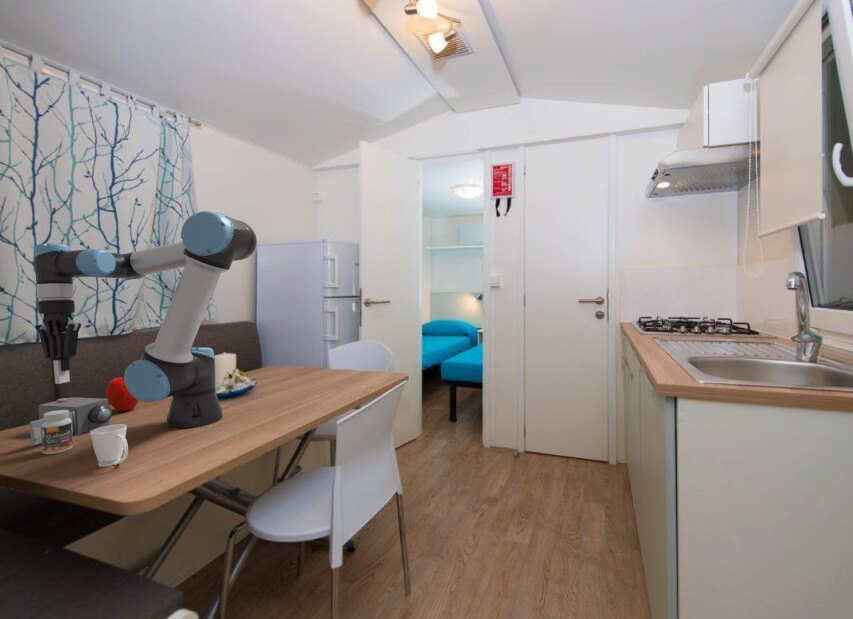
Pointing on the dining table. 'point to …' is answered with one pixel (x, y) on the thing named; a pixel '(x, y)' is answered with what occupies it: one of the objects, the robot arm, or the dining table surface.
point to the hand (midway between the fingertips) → (62, 382)
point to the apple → (120, 395)
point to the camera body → (81, 412)
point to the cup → (110, 444)
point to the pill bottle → (56, 432)
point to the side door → (36, 427)
